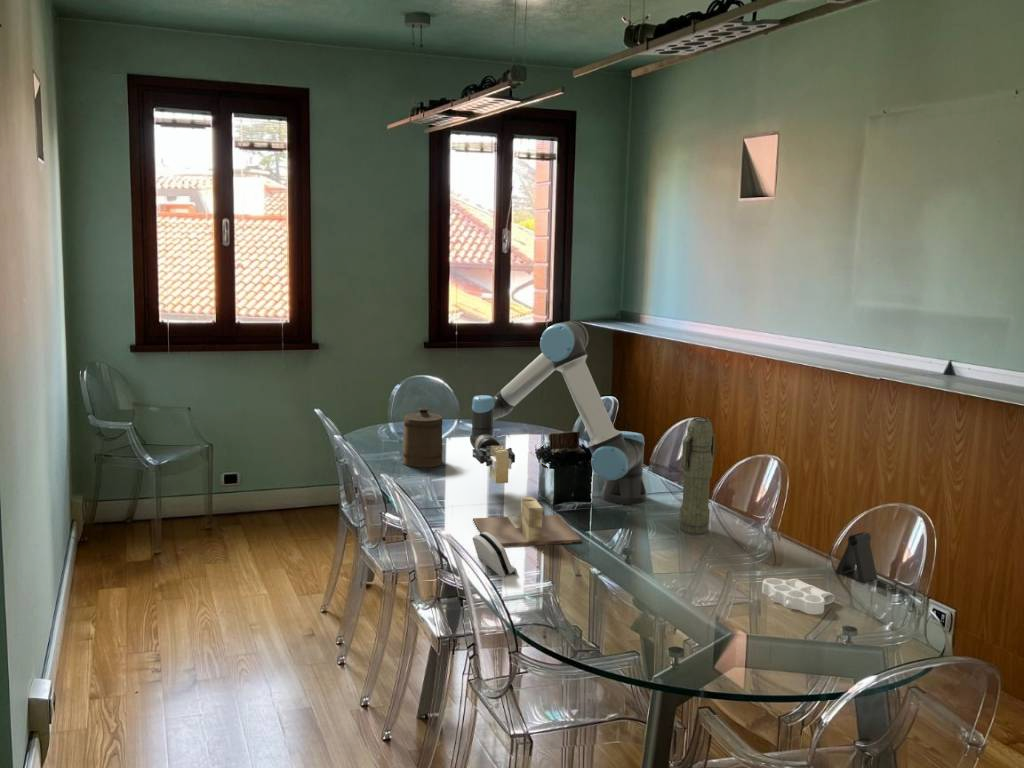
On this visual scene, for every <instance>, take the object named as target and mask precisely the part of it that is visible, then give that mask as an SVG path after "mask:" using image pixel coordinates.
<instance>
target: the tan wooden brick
mask: <svg viewBox="0 0 1024 768" xmlns="http://www.w3.org/2000/svg"><path fill="white" fill-rule="evenodd" d="M506 449H507V448H506V447H505V446H504V445H502V444H500V446H491V447H490V456H493V457H494V458H495V460H496V461H497V470H494V469H493V467H492V466H491V465H490V466H489V476H490V478H491V479H492V481H493V482H494V483H495V484H509V468H508V461H509V452H508V451H507V450H506Z"/></svg>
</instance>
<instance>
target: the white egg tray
mask: <svg viewBox="0 0 1024 768" xmlns="http://www.w3.org/2000/svg"><path fill="white" fill-rule="evenodd" d="M761 587H762V589H761V593H762V594H763V595H766V596H767V597H768V598H770V600H771V601H773V603H776V604H777V603H778V604H779V605H782V606H783V607H785V608H788V609H791V610H798V611H801V612H803V613H805V614H808V615H821V614H823V613H824V612H825V605H829V604H832V603H833V602H834V601H835V597H836V596H835V595H834V594H833V593H831V592H829V591H825V590H823V589H822V588H818V587H817V586H814V585H811V584H808V583H806V582H804V581H803V580H800V579H798V578H790V579H782V578H781V579H780V578H777V577H776V578H775V577H769V578H764V579H763V581H762V586H761Z"/></svg>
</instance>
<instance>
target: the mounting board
mask: <svg viewBox="0 0 1024 768" xmlns="http://www.w3.org/2000/svg"><path fill="white" fill-rule="evenodd" d="M543 510H544V509H543V506H542V505H541V504H540V503H539V501H538V500H537V499H536V497H534V496H533V497H532V496H524V497H521V498H520V516H501V517H500V516H497V517H496V516H495V517H473V518H472V522H473V521H474V523H475V524H474V523H473V524H474V526H475V525H476V526H475V527H477V528H476V530H477V531H478V530H479V531H478V532H480V533H483V532H488V533H490V534H491V535H492V536H494V537H495V538H496V539H497V540H498V541H499V542H500V544H501V545H502V546H503V547H504V548H505V547H522V546H541V545H558V544H559V545H561V544H563V543H564V544H573V543H572V542H580V541H581V542H582V538H581V537H580V536H579V535H578V534H577V533H576V531H574V529H573V528H572V527H571V526H570V525H569V524H568V522H567V521H566V520H565V519H564V518H563V517H562V516H561V515H560V514H545V515H543ZM480 533H479V534H480Z"/></svg>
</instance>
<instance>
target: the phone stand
mask: <svg viewBox="0 0 1024 768" xmlns="http://www.w3.org/2000/svg"><path fill="white" fill-rule="evenodd" d="M871 539H872V537H871V534H870V533H869V532H865V531H862V532H859V533H855V534H852V535H849V536H848V538H847V546H846V548H845V550H844V553H843V554H842V556H841V559H840V561H839V563H838V565H837V567H836V570H835V574H837V575H840V576H842V577H845V578H847V579H850V580H853V581H856V582H859V583H861V584H862V583H863V584H865V583H867V582H871V581H873V580H877V579H878V574H877V570H876V567H875V561H874V556H873V552H872V548H871Z"/></svg>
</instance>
